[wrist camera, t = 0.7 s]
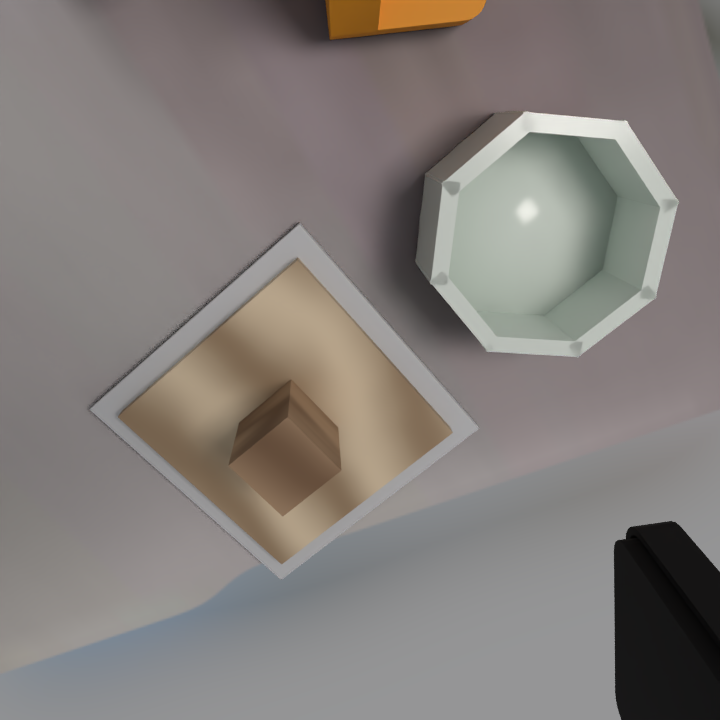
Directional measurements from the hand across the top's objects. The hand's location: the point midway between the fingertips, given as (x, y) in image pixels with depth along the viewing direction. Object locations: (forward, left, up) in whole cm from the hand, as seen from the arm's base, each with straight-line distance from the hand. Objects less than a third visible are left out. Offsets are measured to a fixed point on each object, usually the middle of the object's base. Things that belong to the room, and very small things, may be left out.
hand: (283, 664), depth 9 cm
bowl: (+10, -6, -29) cm, 32 cm away
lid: (-7, -6, -28) cm, 30 cm away
